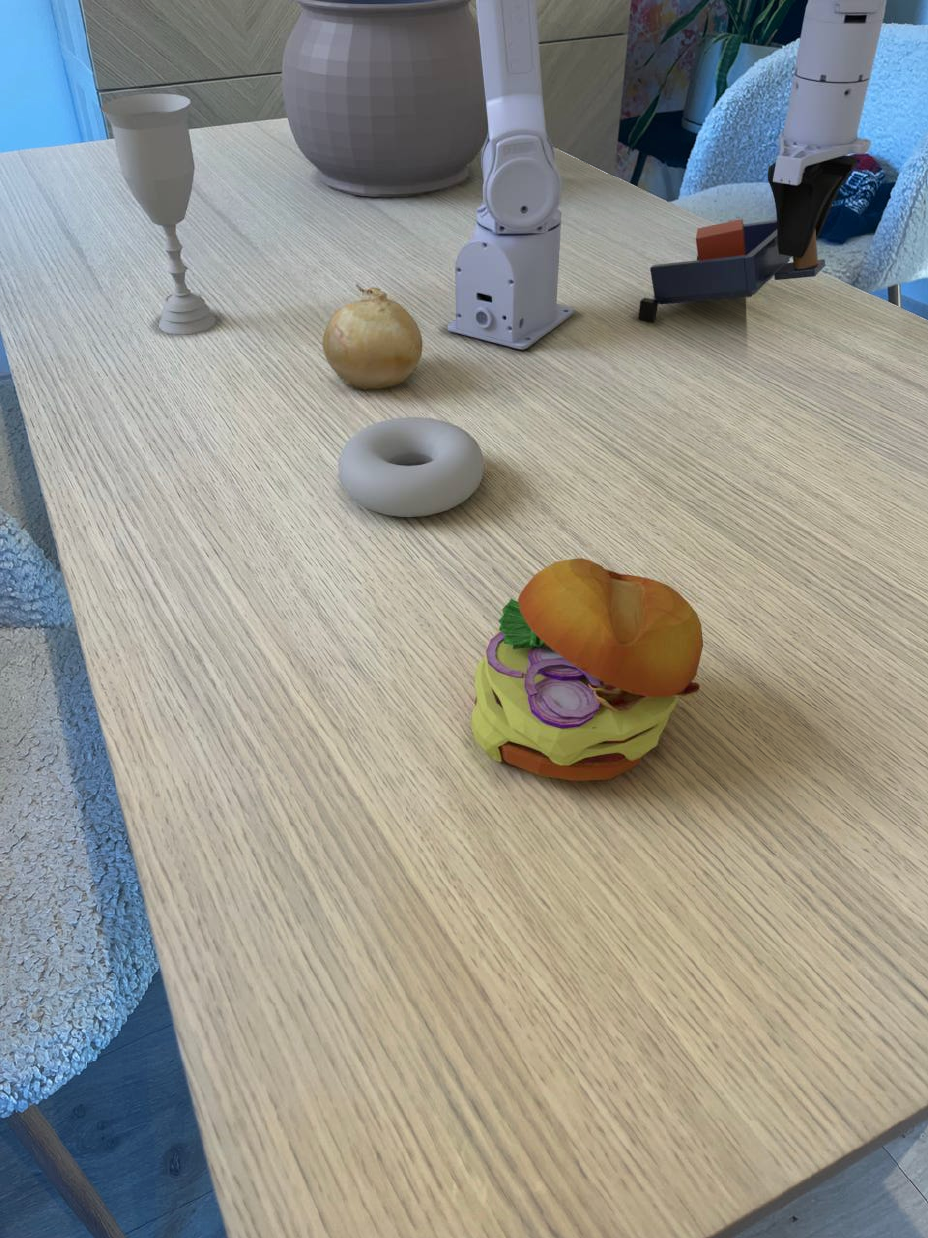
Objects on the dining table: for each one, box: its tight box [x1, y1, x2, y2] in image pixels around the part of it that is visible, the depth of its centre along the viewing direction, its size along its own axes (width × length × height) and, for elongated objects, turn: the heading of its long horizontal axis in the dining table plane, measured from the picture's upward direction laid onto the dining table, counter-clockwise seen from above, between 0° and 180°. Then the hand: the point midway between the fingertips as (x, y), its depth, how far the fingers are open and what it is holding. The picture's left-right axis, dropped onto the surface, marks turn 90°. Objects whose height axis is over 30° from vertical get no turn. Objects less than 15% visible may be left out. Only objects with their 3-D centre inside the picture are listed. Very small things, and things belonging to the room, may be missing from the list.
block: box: [695, 218, 747, 260], centre depth 91 cm, size 4×4×4 cm
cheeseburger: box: [470, 557, 704, 782], centre depth 50 cm, size 10×11×10 cm
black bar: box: [637, 254, 698, 323], centre depth 95 cm, size 14×1×2 cm, turn 148°
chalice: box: [100, 93, 217, 335], centre depth 86 cm, size 7×7×18 cm
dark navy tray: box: [649, 219, 826, 305], centre depth 90 cm, size 12×14×5 cm
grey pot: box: [281, 0, 488, 198], centre depth 119 cm, size 25×25×20 cm
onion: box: [321, 283, 424, 391], centre depth 80 cm, size 8×8×7 cm
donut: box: [337, 416, 486, 518], centre depth 69 cm, size 10×4×10 cm
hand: (795, 250), depth 87 cm, fingers closed on dark navy tray, 2 cm apart
